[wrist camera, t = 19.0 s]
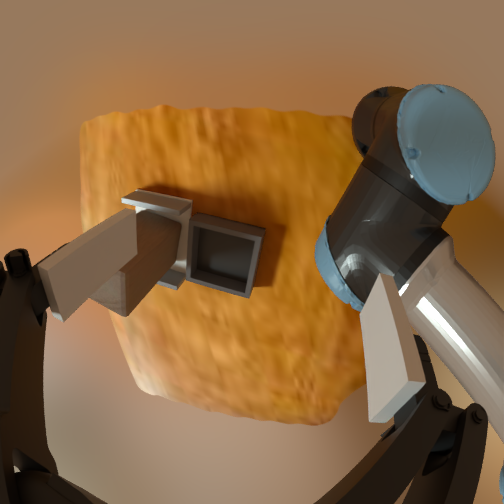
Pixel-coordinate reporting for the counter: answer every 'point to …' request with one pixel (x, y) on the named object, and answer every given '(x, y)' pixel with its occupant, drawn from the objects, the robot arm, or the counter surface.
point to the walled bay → (175, 211)
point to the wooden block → (142, 264)
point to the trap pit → (223, 253)
